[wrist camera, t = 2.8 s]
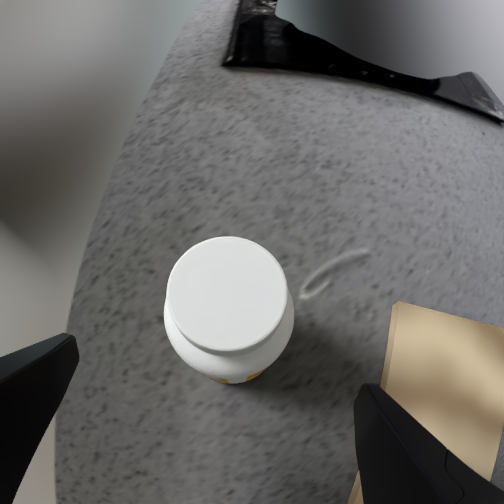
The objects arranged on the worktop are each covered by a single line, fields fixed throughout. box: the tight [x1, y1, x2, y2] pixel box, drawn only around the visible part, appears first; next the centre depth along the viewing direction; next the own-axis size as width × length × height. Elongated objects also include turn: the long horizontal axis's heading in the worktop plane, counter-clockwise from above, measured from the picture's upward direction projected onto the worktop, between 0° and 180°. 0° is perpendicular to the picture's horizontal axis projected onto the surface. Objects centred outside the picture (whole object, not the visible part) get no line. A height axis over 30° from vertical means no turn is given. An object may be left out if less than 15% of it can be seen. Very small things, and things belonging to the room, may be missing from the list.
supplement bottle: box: [164, 237, 294, 383], centre depth 14 cm, size 5×5×10 cm
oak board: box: [347, 301, 504, 504], centre depth 16 cm, size 14×12×1 cm
